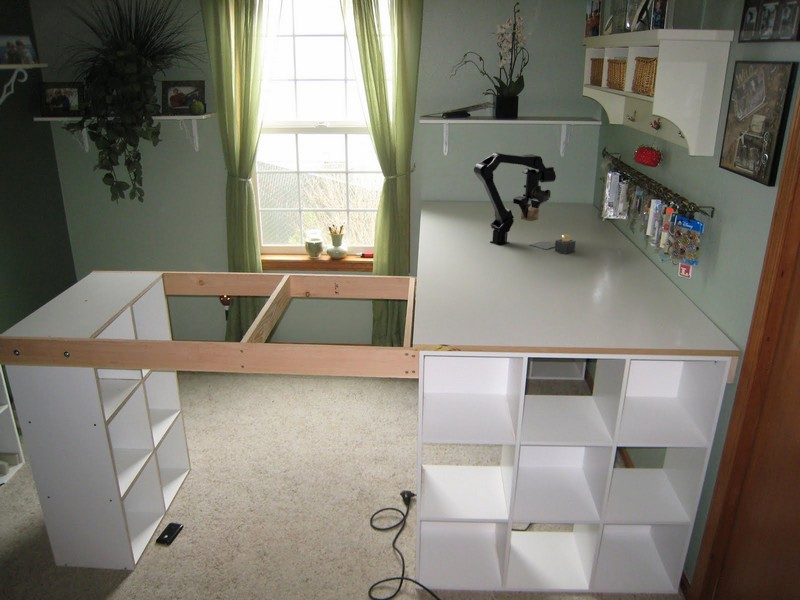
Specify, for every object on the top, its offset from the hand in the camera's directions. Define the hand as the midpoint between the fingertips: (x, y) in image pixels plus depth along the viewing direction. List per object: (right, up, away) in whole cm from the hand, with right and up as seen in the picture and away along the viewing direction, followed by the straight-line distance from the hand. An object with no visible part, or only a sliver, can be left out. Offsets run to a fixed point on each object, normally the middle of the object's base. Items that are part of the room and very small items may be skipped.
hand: (529, 217), depth 298 cm
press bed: (+5, -14, -5) cm, 16 cm away
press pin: (+13, -15, -14) cm, 24 cm away
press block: (+13, -17, -14) cm, 25 cm away
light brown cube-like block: (0, -1, 0) cm, 1 cm away
